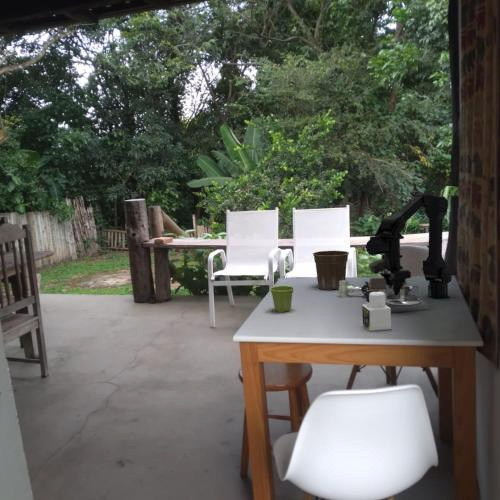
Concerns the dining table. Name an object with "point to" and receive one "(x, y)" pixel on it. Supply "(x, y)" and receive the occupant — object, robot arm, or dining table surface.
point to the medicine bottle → (376, 311)
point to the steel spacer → (391, 293)
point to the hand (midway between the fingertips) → (393, 293)
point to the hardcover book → (381, 284)
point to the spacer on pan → (411, 292)
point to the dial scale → (406, 305)
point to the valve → (351, 288)
